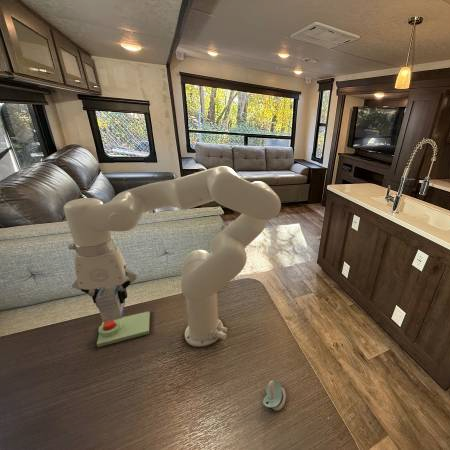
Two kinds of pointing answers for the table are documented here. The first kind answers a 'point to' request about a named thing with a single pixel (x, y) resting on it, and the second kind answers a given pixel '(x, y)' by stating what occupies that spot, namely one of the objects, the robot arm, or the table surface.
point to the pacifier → (274, 395)
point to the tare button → (109, 325)
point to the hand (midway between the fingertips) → (111, 301)
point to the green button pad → (125, 329)
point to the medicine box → (109, 304)
